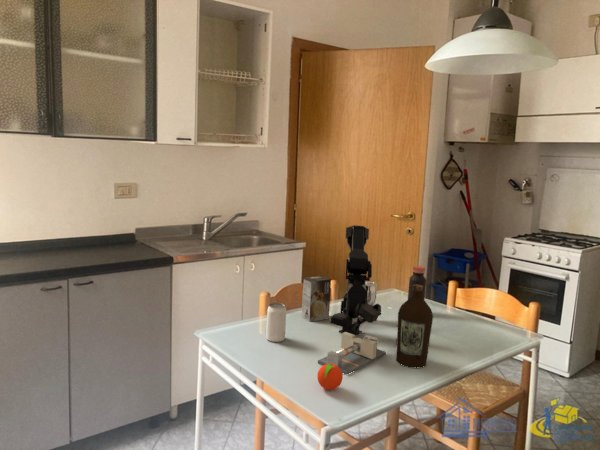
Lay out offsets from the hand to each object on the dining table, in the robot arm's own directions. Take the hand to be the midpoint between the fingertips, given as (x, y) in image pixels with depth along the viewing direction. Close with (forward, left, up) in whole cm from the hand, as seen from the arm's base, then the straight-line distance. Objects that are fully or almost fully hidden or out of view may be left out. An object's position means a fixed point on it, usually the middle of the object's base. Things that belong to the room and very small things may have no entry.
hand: (352, 340), depth 163 cm
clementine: (+28, +11, -4) cm, 30 cm away
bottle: (-53, -5, -4) cm, 54 cm away
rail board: (+6, +4, -4) cm, 8 cm away
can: (+12, -24, -4) cm, 27 cm away
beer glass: (-29, -14, -4) cm, 33 cm away
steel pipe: (+6, +4, -4) cm, 8 cm away
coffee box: (-16, -29, -4) cm, 33 cm away
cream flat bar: (+3, +4, -2) cm, 6 cm away
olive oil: (-6, +18, -4) cm, 20 cm away
